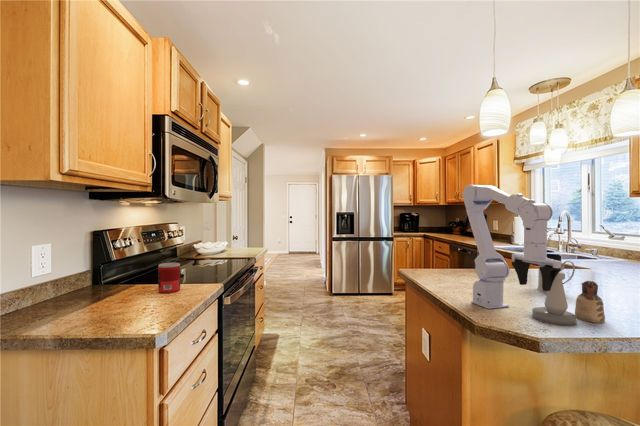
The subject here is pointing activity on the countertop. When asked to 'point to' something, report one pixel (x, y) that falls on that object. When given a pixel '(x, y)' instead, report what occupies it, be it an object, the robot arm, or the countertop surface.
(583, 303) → the figurine
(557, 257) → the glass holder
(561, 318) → the coaster
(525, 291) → the countertop surface
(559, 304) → the salt shaker
